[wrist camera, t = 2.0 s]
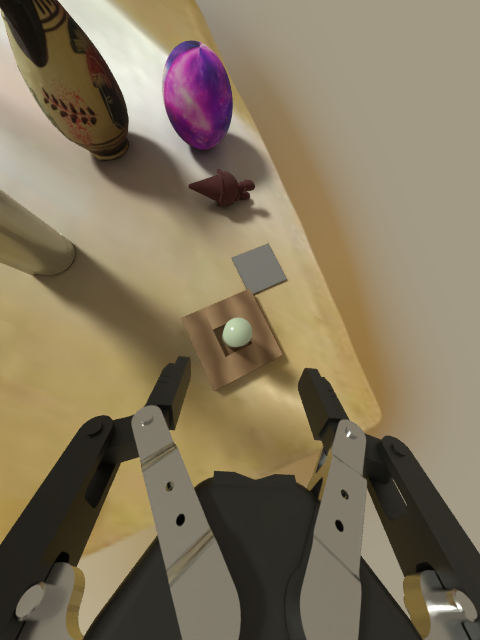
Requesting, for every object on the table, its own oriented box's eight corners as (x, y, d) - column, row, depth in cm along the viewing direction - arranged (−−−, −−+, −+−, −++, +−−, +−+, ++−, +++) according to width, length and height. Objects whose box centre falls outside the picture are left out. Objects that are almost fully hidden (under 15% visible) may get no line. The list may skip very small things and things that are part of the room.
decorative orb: (239, 156, 48) (249, 71, 33) (187, 172, 45) (172, 86, 31) (215, 113, 49) (214, 12, 35) (162, 125, 47) (137, 22, 32)
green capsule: (227, 351, 39) (231, 351, 27) (218, 332, 39) (219, 324, 27) (245, 342, 39) (257, 338, 28) (236, 324, 40) (244, 313, 28)
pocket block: (213, 388, 37) (213, 391, 35) (182, 320, 39) (180, 318, 37) (279, 354, 40) (282, 354, 38) (248, 291, 42) (249, 288, 40)
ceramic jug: (87, 110, 45) (-161, -349, 15) (149, 131, 46) (28, -257, 17) (56, 163, 41) (-335, -292, 12) (123, 185, 43) (-85, -182, 13)
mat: (249, 295, 42) (250, 295, 41) (231, 258, 43) (231, 257, 42) (286, 279, 44) (286, 278, 43) (267, 244, 45) (268, 243, 44)
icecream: (189, 194, 37) (257, 199, 41) (186, 155, 36) (256, 164, 40) (190, 211, 44) (249, 214, 47) (187, 179, 43) (247, 184, 47)
